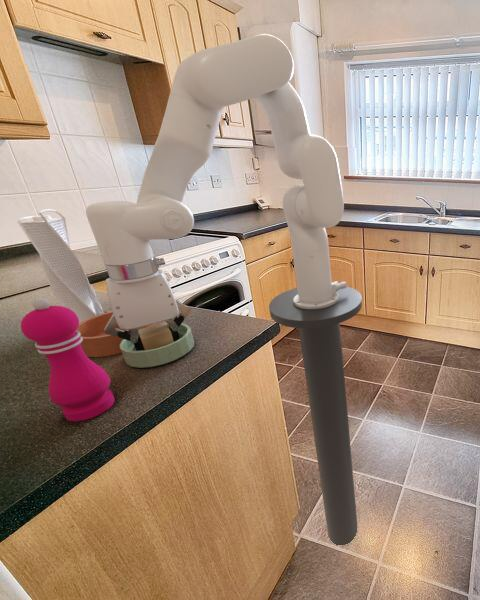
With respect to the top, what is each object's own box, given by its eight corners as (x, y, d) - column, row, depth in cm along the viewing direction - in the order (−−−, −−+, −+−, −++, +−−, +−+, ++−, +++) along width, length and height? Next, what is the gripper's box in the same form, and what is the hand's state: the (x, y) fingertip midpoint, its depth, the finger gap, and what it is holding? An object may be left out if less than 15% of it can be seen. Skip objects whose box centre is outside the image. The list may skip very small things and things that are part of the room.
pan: (152, 319, 86) (147, 303, 84) (163, 340, 76) (157, 322, 74) (77, 338, 77) (69, 321, 75) (79, 365, 67) (70, 346, 65)
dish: (187, 332, 79) (183, 317, 78) (201, 353, 71) (196, 337, 69) (123, 351, 72) (116, 335, 70) (130, 377, 64) (123, 359, 62)
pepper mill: (53, 415, 54) (-8, 303, 46) (104, 389, 60) (58, 286, 52) (75, 430, 52) (14, 313, 43) (127, 401, 57) (82, 293, 49)
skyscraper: (113, 321, 85) (69, 207, 74) (71, 333, 79) (16, 212, 68) (103, 312, 90) (59, 204, 78) (63, 323, 84) (9, 209, 72)
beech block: (172, 342, 74) (165, 322, 72) (177, 351, 71) (170, 330, 69) (144, 350, 71) (137, 329, 69) (148, 360, 68) (140, 339, 66)
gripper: (179, 256, 72) (200, 331, 79) (73, 274, 61) (108, 358, 68) (188, 264, 67) (209, 343, 74) (73, 285, 56) (111, 375, 63)
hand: (160, 350), depth 71 cm, fingers closed on beech block, 5 cm apart
